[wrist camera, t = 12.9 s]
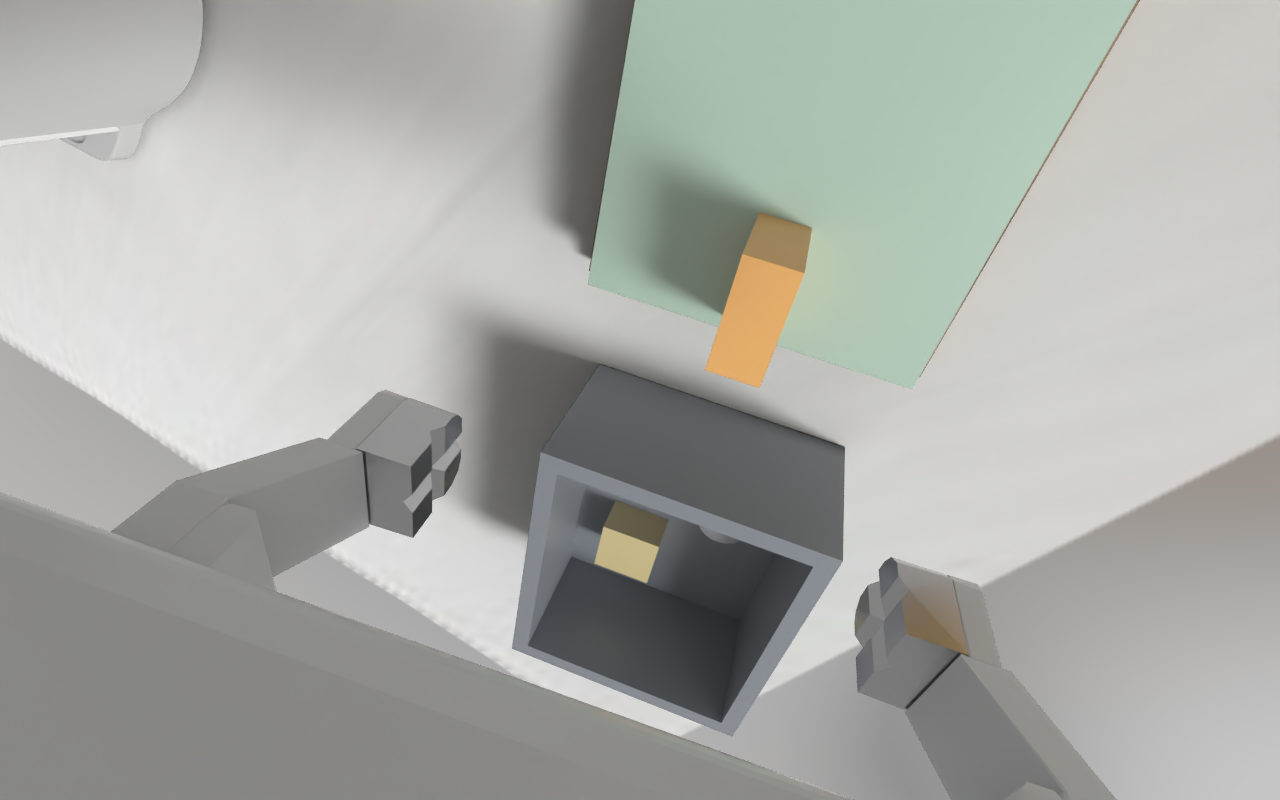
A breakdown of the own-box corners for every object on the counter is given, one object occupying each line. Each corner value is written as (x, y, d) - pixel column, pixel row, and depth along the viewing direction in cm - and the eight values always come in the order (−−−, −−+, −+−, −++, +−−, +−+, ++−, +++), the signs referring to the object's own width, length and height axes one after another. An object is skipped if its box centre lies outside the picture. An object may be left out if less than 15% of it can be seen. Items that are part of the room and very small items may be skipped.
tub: (562, 550, 38) (511, 648, 32) (599, 363, 30) (540, 452, 24) (750, 621, 37) (732, 736, 31) (844, 447, 28) (842, 561, 23)
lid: (606, 264, 26) (546, 330, 21) (694, -225, 17) (629, -311, 12) (907, 360, 24) (921, 456, 19) (1172, -118, 15) (1322, -168, 11)
